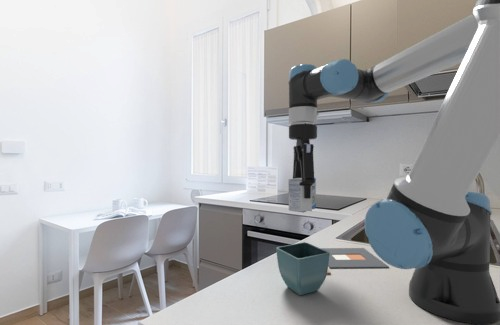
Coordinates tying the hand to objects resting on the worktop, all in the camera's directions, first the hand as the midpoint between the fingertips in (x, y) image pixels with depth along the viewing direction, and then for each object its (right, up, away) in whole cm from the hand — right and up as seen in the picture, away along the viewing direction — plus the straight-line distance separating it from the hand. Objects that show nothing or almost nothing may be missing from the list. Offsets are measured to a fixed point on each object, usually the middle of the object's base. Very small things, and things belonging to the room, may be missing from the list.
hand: (302, 207), depth 78 cm
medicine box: (0, -1, 0) cm, 1 cm away
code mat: (+15, -16, +7) cm, 23 cm away
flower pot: (-3, -16, -14) cm, 22 cm away
